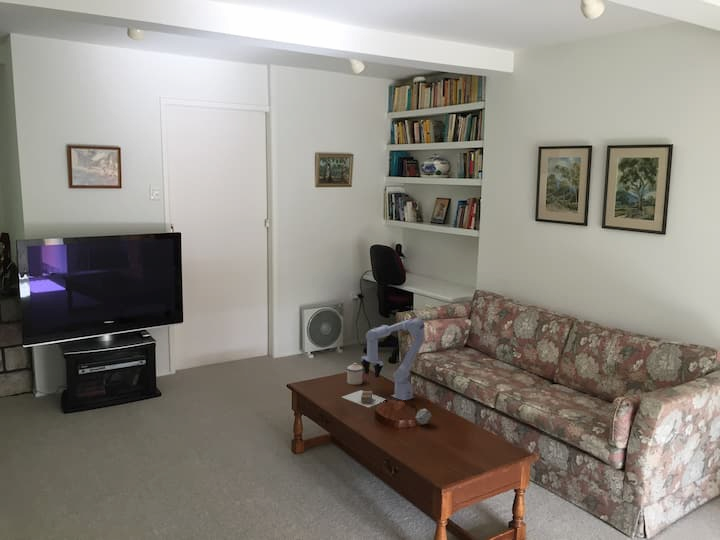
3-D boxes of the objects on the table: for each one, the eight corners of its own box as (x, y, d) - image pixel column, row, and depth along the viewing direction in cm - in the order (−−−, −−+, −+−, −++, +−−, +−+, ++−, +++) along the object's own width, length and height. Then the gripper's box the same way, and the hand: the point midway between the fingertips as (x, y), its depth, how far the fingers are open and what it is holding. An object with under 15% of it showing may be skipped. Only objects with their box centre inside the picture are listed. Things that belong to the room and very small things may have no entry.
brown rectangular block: (370, 403, 320) (370, 396, 319) (361, 403, 321) (361, 396, 320) (372, 398, 328) (372, 391, 327) (362, 397, 328) (362, 391, 328)
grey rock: (419, 432, 297) (407, 416, 295) (425, 420, 303) (413, 405, 302) (433, 428, 291) (420, 412, 289) (439, 416, 297) (427, 400, 296)
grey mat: (388, 400, 326) (388, 399, 326) (368, 408, 316) (368, 407, 316) (360, 391, 340) (360, 389, 340) (341, 398, 330) (341, 396, 329)
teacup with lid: (365, 384, 351) (365, 364, 349) (351, 386, 347) (351, 366, 345) (356, 377, 362) (356, 358, 360) (341, 380, 358) (342, 360, 356)
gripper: (387, 352, 333) (386, 376, 335) (367, 347, 343) (367, 370, 345) (378, 355, 328) (378, 379, 330) (358, 349, 338) (358, 373, 340)
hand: (372, 375), depth 338 cm, fingers open, 7 cm apart
